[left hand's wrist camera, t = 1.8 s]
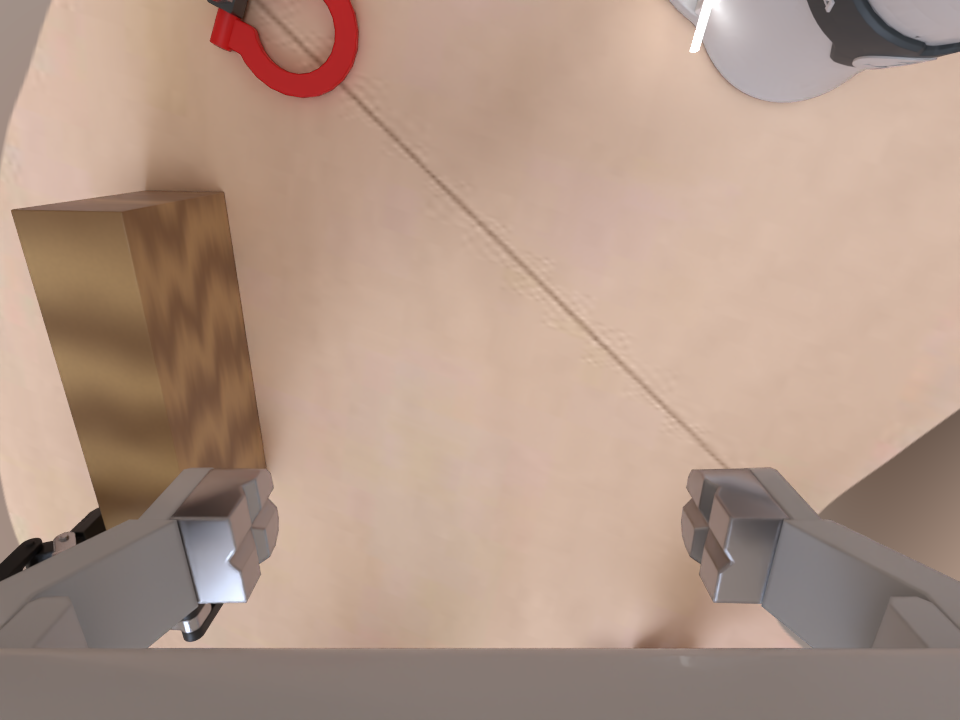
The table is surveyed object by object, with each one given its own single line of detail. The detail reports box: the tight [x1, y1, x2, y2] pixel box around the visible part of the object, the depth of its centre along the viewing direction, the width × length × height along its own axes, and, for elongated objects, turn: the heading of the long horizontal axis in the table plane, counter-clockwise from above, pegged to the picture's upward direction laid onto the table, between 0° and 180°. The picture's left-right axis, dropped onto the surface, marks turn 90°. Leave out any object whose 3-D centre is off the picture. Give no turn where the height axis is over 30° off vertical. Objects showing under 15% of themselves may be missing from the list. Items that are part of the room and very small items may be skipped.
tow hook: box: [207, 0, 359, 98], centre depth 32 cm, size 8×13×9 cm
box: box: [11, 191, 266, 531], centre depth 41 cm, size 26×6×13 cm, turn 179°
